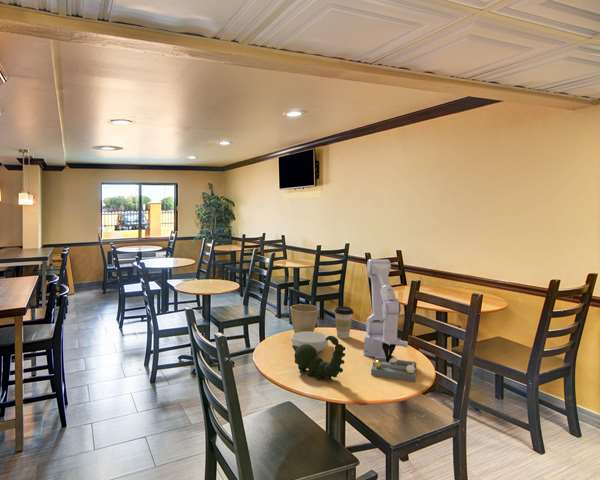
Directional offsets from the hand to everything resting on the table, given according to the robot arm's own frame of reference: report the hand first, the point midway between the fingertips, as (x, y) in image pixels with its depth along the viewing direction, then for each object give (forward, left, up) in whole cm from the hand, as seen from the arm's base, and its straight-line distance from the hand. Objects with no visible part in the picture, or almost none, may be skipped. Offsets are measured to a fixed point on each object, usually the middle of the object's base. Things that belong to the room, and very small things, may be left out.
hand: (388, 361), depth 164 cm
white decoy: (+9, -5, 0) cm, 10 cm away
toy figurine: (-27, -16, -4) cm, 32 cm away
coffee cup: (-27, +36, -4) cm, 45 cm away
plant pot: (-45, +25, -4) cm, 51 cm away
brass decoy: (-4, -5, 0) cm, 6 cm away
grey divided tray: (+2, 0, -4) cm, 5 cm away
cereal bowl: (-37, +9, -4) cm, 38 cm away
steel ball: (+1, 0, +1) cm, 2 cm away
